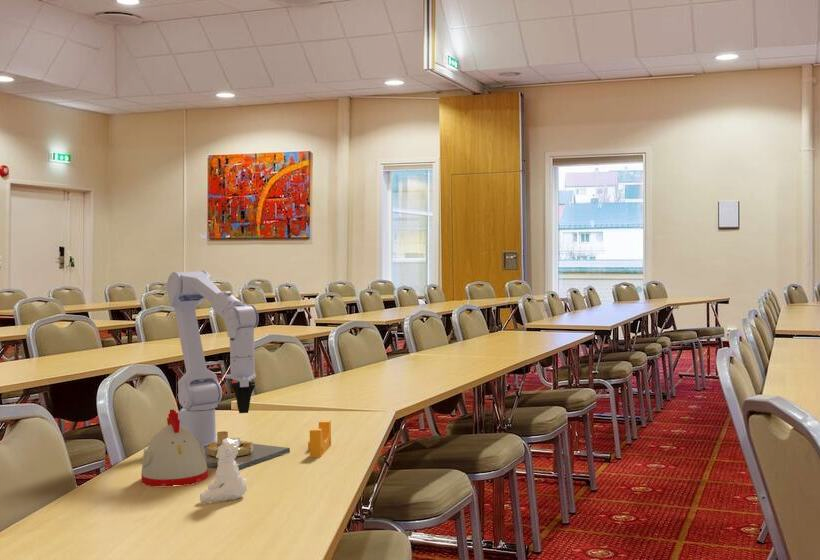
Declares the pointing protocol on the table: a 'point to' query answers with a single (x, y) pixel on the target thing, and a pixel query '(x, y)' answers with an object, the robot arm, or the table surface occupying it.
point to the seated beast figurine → (225, 475)
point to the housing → (250, 455)
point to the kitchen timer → (174, 457)
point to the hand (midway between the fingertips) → (243, 412)
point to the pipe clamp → (320, 439)
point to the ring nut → (213, 446)
